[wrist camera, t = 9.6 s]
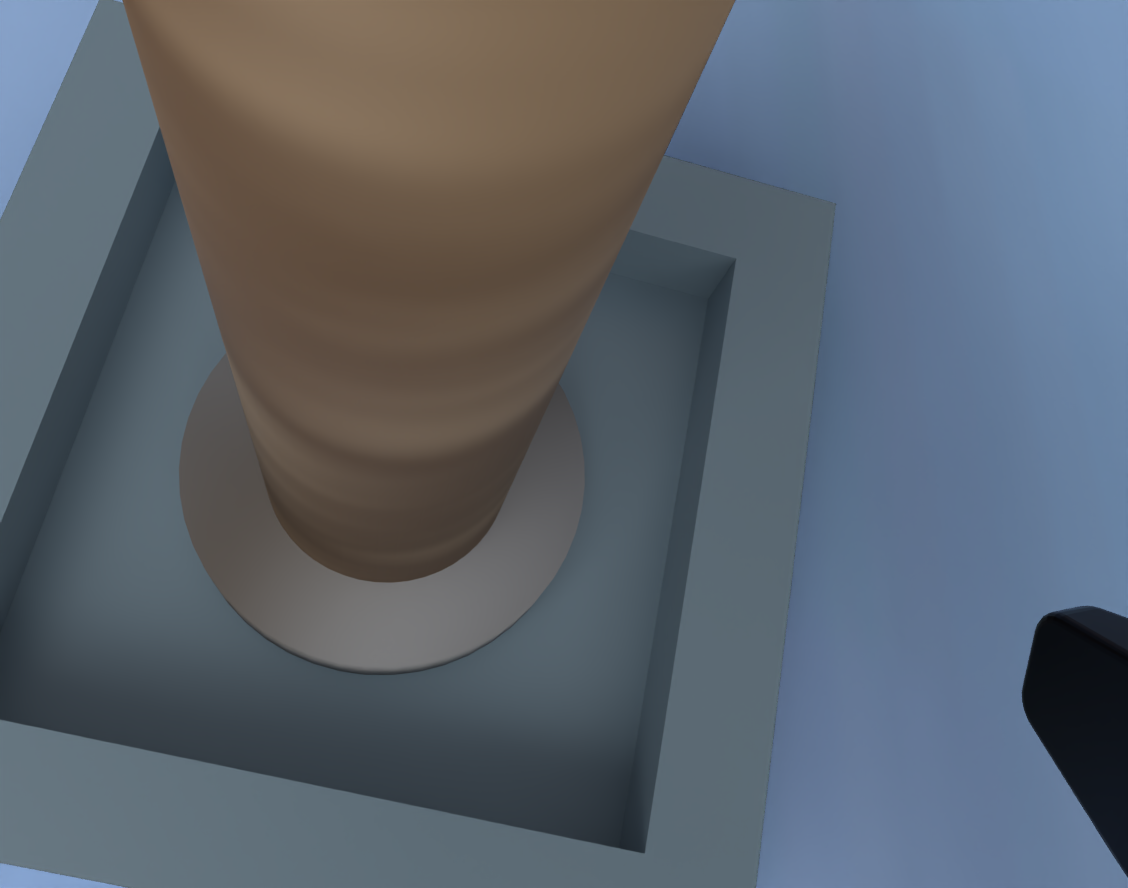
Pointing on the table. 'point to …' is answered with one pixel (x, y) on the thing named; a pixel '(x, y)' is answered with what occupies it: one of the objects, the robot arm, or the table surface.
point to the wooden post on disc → (402, 293)
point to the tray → (412, 700)
